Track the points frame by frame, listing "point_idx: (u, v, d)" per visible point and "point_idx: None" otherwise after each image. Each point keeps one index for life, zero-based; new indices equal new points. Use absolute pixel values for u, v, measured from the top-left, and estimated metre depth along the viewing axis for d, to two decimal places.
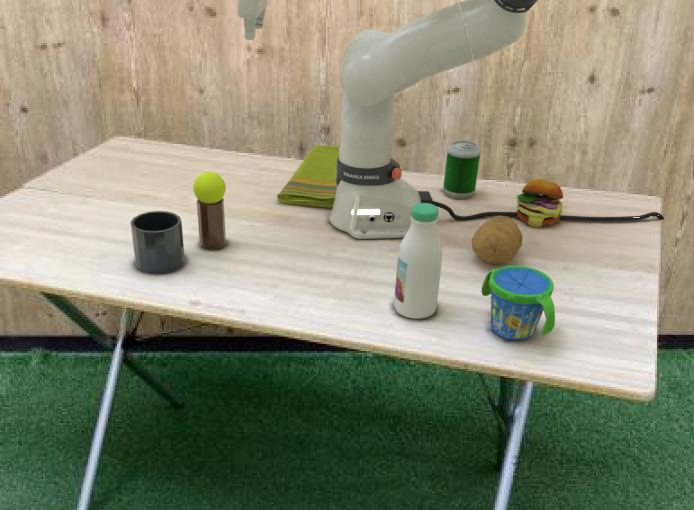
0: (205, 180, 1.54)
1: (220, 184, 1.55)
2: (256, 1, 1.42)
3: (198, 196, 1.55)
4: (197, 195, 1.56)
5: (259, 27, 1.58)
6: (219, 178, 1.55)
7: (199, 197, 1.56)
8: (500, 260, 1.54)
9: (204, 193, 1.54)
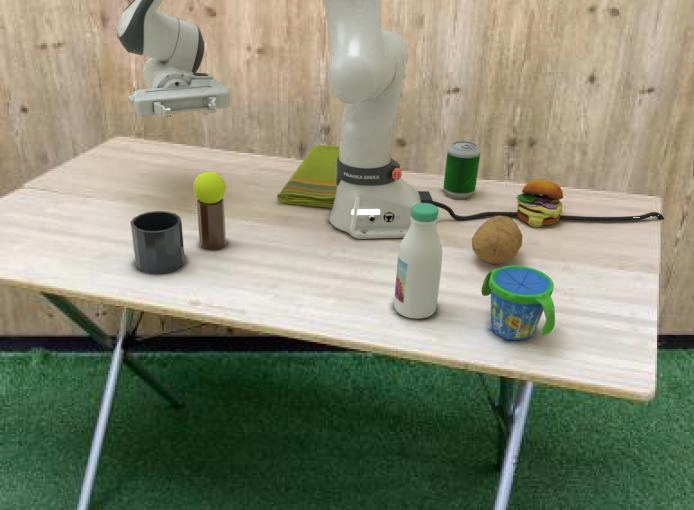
0: (205, 180, 1.54)
1: (220, 184, 1.55)
2: (134, 96, 1.62)
3: (198, 196, 1.55)
4: (197, 195, 1.56)
5: (209, 107, 1.61)
6: (219, 178, 1.55)
7: (199, 197, 1.56)
8: (500, 260, 1.54)
9: (204, 193, 1.54)
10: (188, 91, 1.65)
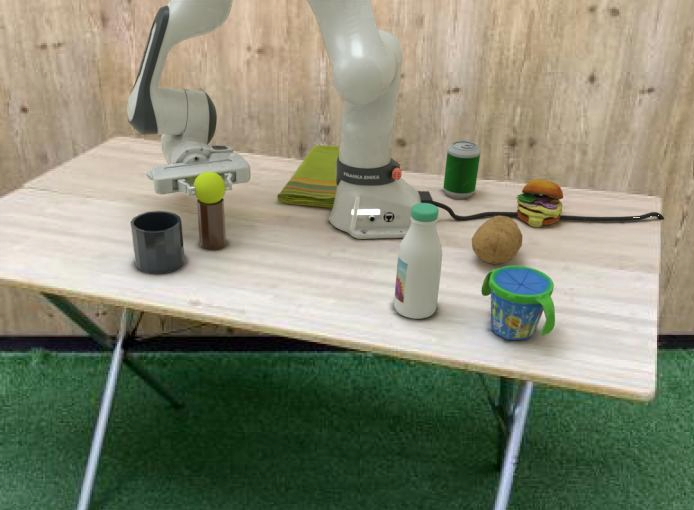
0: (205, 180, 1.54)
1: (220, 184, 1.55)
2: (153, 173, 1.59)
3: (198, 196, 1.55)
4: (197, 195, 1.56)
5: None
6: (219, 178, 1.55)
7: (199, 197, 1.56)
8: (500, 260, 1.54)
9: (204, 193, 1.54)
10: (208, 167, 1.61)
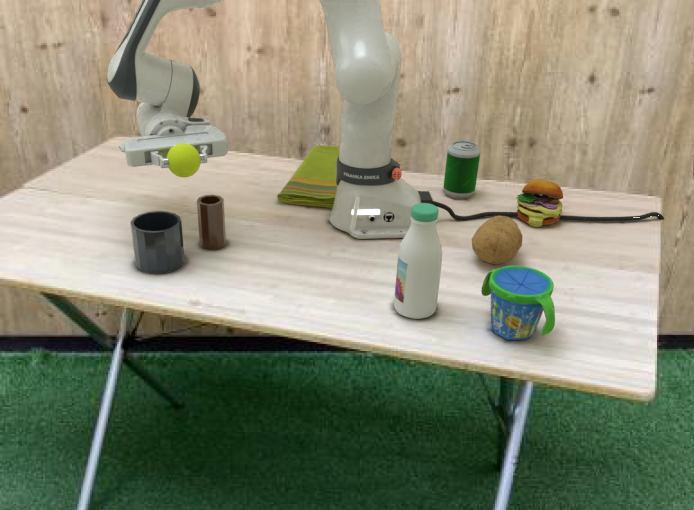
0: (179, 152, 1.47)
1: (194, 156, 1.48)
2: (125, 145, 1.52)
3: (172, 168, 1.49)
4: (170, 167, 1.49)
5: None
6: (193, 150, 1.49)
7: (172, 169, 1.49)
8: (500, 260, 1.54)
9: (178, 165, 1.48)
10: (183, 139, 1.55)
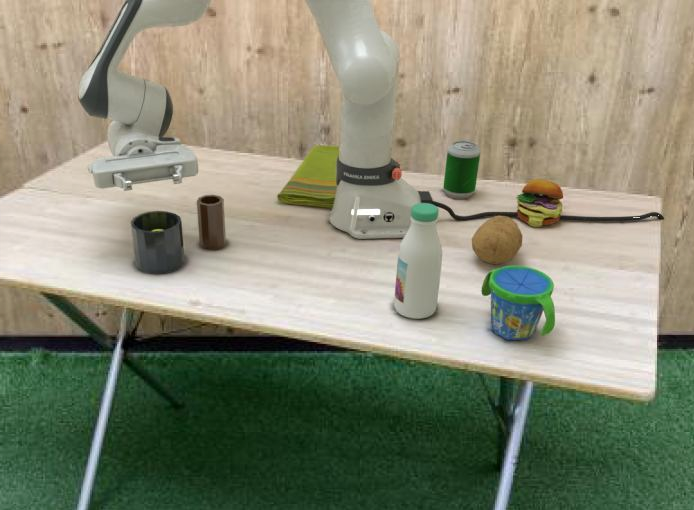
0: None
1: None
2: (93, 166, 1.49)
3: None
4: None
5: (173, 177, 1.48)
6: None
7: None
8: (500, 260, 1.54)
9: None
10: (152, 159, 1.52)
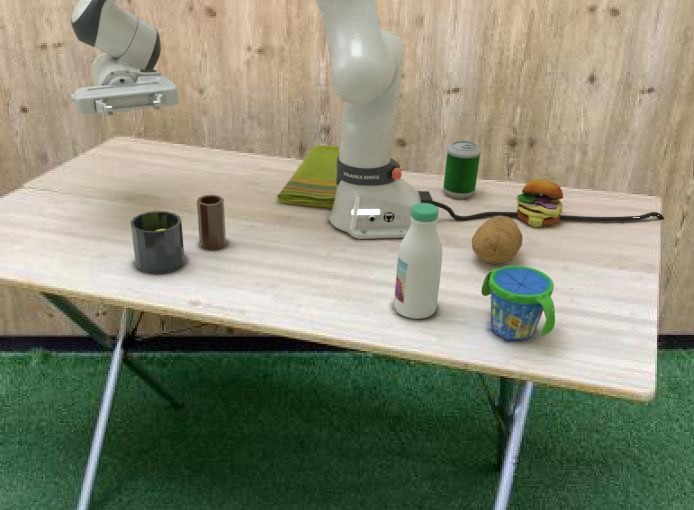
0: None
1: None
2: (75, 94, 1.54)
3: None
4: None
5: (153, 104, 1.53)
6: None
7: None
8: (500, 260, 1.54)
9: None
10: (133, 88, 1.56)
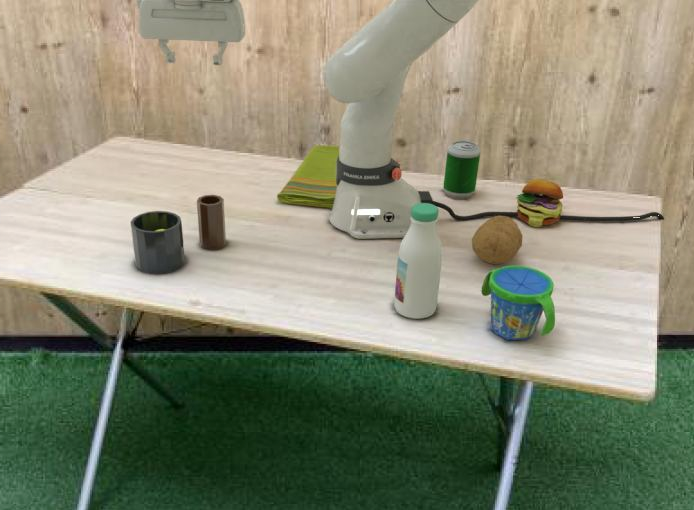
0: None
1: None
2: (139, 20, 1.49)
3: None
4: None
5: None
6: None
7: None
8: (500, 260, 1.54)
9: None
10: (197, 27, 1.48)
